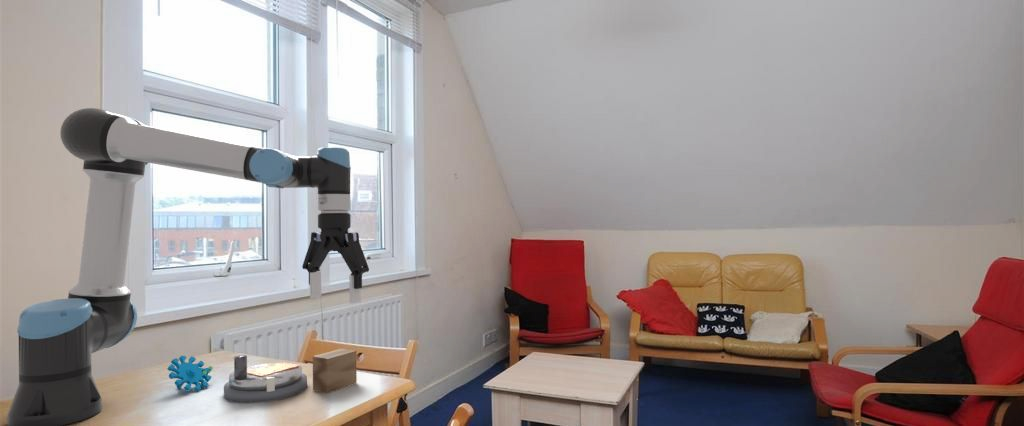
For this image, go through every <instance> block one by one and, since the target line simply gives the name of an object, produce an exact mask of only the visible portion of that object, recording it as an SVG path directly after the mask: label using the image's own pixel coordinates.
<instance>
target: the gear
mask: <svg viewBox="0 0 1024 426" xmlns="http://www.w3.org/2000/svg"><path fill="white" fill-rule="evenodd" d="M186 359H187V356H186V355H180V357H178V358H177V357H176V358H173V359H172V360H171V362H170V363H171V364H170V365H169V366H168V367H167V371H169V372H170V373H169V374H168V379H170V380H172V379H176V381H175V382H174V385H175V387H176V388H177V389H180V388H182V386H183V385H184V384H185V383H186V384H185V385H184V387H183V390H185V391H187V392H189V391H190V390H191V388H192V385H195V386H194V387H193V391H195V392H199V391H201V389H205V388H207V387H208V386H209V381H211V379H212V375H208V374H210V373H211V372H212V370H213V369H214V367H213V366H211V365H209V366H208V367H205V368H203V367H204V366H205V362H204V361H203V360H200V361H198V362H196V363H194V362H195V361H196V360H197V359H196V357H195V356H192V355H191V356H190V357H189V358H188V362H186ZM179 361H180V363H179Z"/></svg>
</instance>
